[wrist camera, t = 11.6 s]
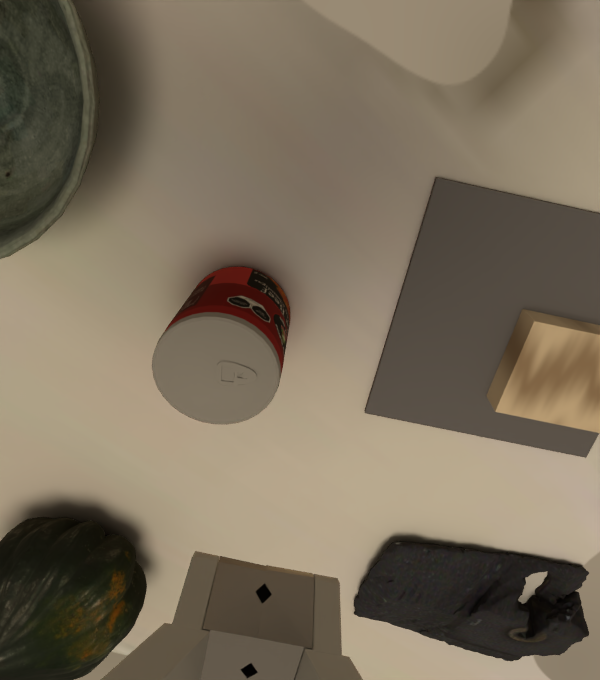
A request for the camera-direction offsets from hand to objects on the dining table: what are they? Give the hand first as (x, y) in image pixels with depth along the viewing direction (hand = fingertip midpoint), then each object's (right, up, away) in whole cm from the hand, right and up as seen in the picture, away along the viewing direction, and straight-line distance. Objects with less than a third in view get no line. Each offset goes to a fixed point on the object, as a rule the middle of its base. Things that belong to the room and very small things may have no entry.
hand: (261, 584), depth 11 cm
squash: (-22, -17, +43) cm, 51 cm away
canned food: (-4, +8, +31) cm, 32 cm away
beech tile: (+17, +3, +30) cm, 35 cm away
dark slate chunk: (+18, -21, +44) cm, 52 cm away
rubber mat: (+18, +6, +31) cm, 36 cm away
